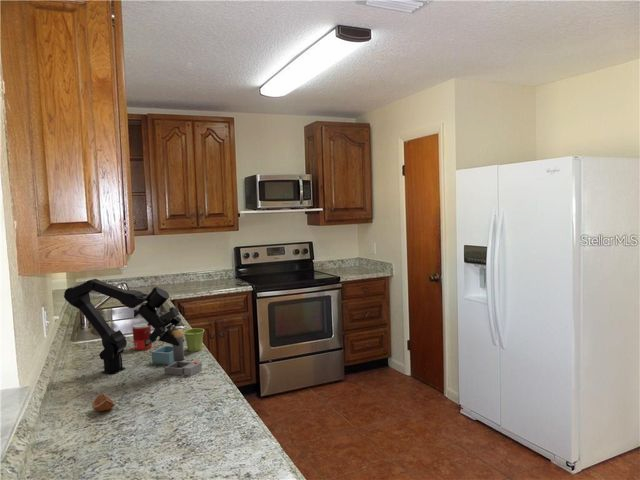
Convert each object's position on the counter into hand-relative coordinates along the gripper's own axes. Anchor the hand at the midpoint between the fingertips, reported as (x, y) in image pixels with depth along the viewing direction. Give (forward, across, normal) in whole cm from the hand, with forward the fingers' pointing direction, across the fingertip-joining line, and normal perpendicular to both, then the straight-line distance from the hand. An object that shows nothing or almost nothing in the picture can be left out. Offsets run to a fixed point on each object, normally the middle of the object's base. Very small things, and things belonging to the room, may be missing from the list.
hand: (181, 343), depth 187 cm
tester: (+8, -1, +7) cm, 11 cm away
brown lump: (0, -36, +16) cm, 39 cm away
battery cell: (+4, 0, +6) cm, 7 cm away
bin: (0, +12, +16) cm, 20 cm away
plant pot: (+4, +27, +12) cm, 30 cm away
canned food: (-14, +30, +30) cm, 45 cm away
